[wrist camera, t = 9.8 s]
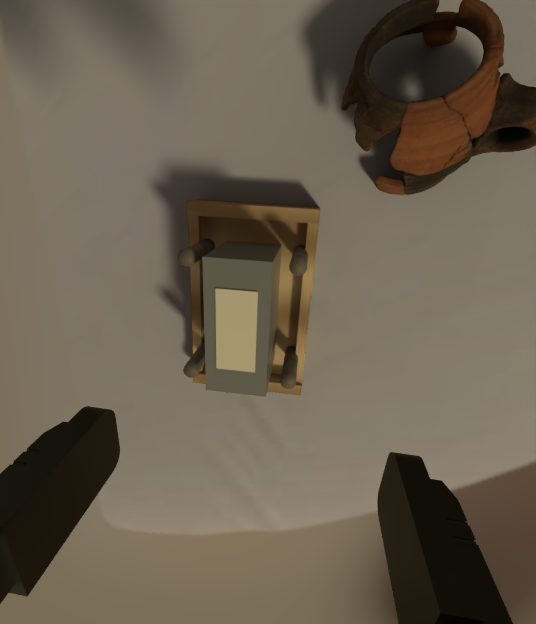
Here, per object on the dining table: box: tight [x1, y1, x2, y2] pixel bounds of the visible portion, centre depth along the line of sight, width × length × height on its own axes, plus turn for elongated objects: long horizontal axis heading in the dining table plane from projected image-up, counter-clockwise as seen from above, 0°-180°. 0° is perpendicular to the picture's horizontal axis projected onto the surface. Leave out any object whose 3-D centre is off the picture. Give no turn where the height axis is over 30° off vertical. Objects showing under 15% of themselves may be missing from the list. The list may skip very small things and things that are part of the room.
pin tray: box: [178, 200, 320, 395], centre depth 27 cm, size 16×10×6 cm, turn 177°
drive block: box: [202, 241, 282, 397], centre depth 25 cm, size 10×4×7 cm, turn 177°
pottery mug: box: [341, 0, 536, 195], centre depth 21 cm, size 12×9×8 cm
